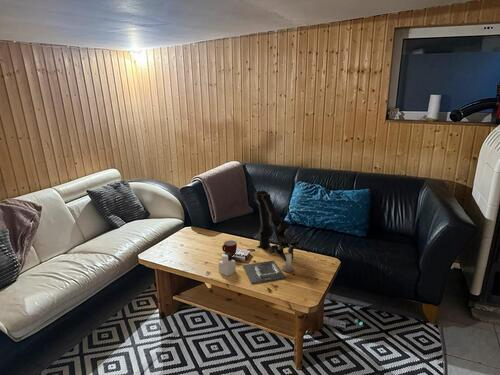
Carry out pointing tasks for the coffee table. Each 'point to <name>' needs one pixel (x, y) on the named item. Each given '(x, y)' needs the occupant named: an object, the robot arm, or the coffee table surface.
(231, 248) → the mug
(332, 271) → the coffee table surface
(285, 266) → the beige flared base peg
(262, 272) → the keeper board
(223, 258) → the medicine bottle
